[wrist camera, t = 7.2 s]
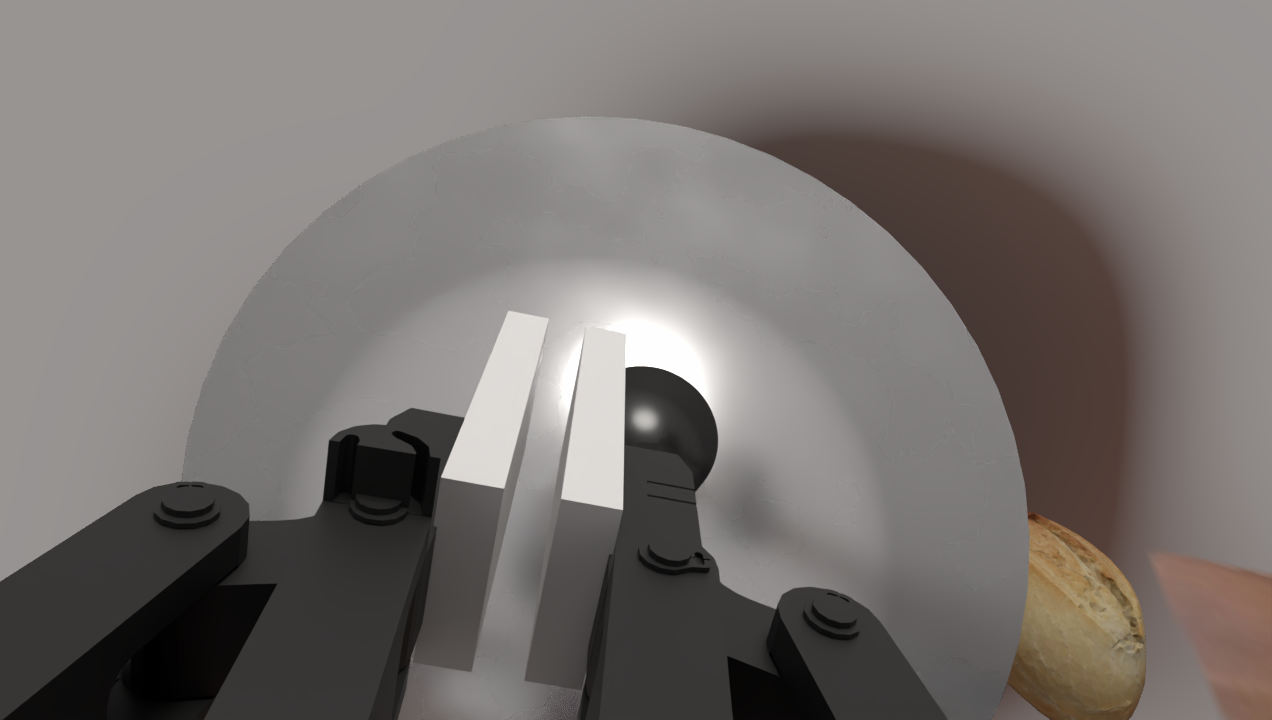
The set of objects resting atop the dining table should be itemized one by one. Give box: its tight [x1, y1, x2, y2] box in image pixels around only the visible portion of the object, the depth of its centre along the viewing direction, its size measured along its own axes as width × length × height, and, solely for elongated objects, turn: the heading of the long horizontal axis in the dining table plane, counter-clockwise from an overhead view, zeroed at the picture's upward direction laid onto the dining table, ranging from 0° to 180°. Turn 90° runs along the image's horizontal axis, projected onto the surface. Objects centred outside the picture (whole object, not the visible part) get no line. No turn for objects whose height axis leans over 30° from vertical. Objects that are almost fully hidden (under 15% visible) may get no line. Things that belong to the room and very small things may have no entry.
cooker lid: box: [181, 116, 1030, 720], centre depth 21 cm, size 19×19×4 cm
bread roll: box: [1007, 512, 1146, 720], centre depth 52 cm, size 10×15×8 cm, turn 31°
